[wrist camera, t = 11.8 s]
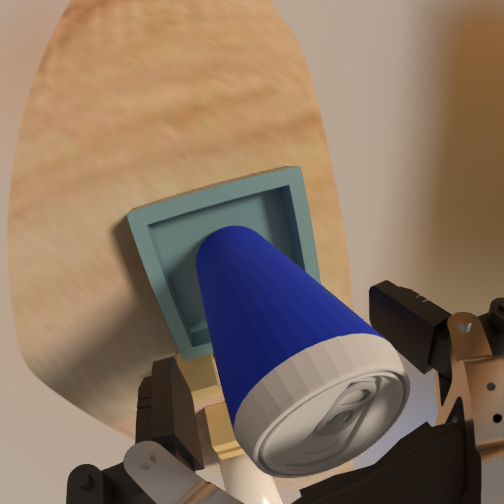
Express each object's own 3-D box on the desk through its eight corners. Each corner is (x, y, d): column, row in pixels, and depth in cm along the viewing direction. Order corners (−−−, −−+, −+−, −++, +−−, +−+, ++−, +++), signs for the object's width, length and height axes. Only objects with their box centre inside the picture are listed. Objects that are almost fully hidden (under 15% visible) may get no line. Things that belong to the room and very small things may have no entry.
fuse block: (174, 349, 21) (176, 391, 17) (241, 329, 22) (257, 367, 18) (230, 451, 27) (240, 484, 22) (276, 437, 28) (290, 468, 23)
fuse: (205, 426, 25) (229, 527, 13) (249, 414, 25) (286, 512, 14) (219, 447, 26) (243, 536, 15) (258, 436, 27) (293, 523, 16)
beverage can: (256, 299, 21) (364, 466, 7) (188, 287, 20) (221, 489, 6) (276, 233, 20) (444, 350, 6) (205, 216, 19) (283, 353, 5)
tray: (133, 208, 18) (126, 214, 15) (285, 166, 20) (300, 166, 17) (182, 342, 21) (184, 361, 19) (310, 300, 23) (324, 314, 21)
